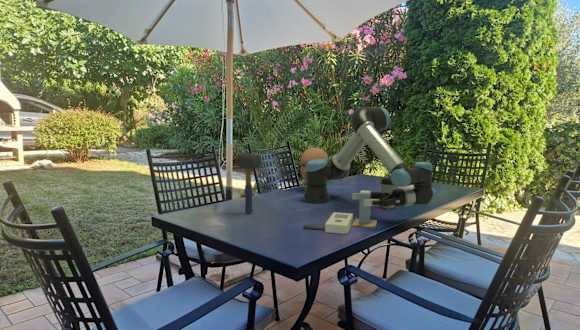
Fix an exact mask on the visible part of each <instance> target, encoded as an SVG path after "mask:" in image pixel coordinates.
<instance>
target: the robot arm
mask: <svg viewBox="0 0 580 330" xmlns="http://www.w3.org/2000/svg"><path fill="white" fill-rule="evenodd" d="M349 118H350V120H349V122H350V126H351V129H352V130H353V133H352V135H351V136H350V137H349V138H348V140H347V141H346V142H345V144H344V145H343V146H342V148H340V151H339V152H338V153H337V154H334V155H333V156H331V158H330V159H328V161H327V160H326V159H314V160H310V161H308V162H307V166H306V183H305V184H306V186H305V190H304V193H303V198H302V199H303V202H305V203H309V204H324V203H329V202H330V201H331V199H330V198H331V197H330V193H329V191H328V188H327V187H328V182H331V181H340V180H341V181H342V180H343V179H346V178H347V177H348V176H349V174H350V171H351V170H350V169H351V163H352V161H353V160H354V159H355V158H356V156H357V155H358V154H359V153H360V152H361V150H362V149H363V148H364V146H365V145H367V146H368V147H369V148H370V150H371V151H372V152H373V153H374V155H375V157H377V159H378V160H379V161H380V162H381V163H382V165H383V166H384V167H385V168H386V170H388V173H390V178H391V182H392V183H393V184H394V185H395V186H397V188H396V189H395V190H393V192H392V194H390V193H387V192H380V191H379V192H378V191H376V192H375V191H371V199H370V200H364V206H371V207H379V206H380V207H382V208H383V207H387V206H391V205H395V207H406V206H407V207H410V206H423V205H425V206H427V205H433V204H435V203H436V202H437V199H438V194H437V190H436V189H435V188H434V187H432V185H433V184H432V182H433V164H432V162H428V161H417V162H415V163H414V167H408V165H407V163H405V162H404V161H403V160H402V158H401V157H400V156H399V155H398V153H397V152H396V151H395V150H394V149H393V148H392V146H391V145H390V144H389V143H388V142H387V141H386V139H385V138H384V137H383V136H382V135H381V134H380V131H384V130H386V129H389V127H390V124H391V115H390V112H389V111H388V110H387V109H386V108H385V107H380V106H377V107H376V106H375V107H374V106H373V107H371V106H370V107H369V106H368V107H367V106H361V107H358V108H356V109H355V110H354V111H353V112H352V113H351V115H350V117H349ZM409 185H414V188H413V189H400V188H398V187H406V186H409ZM351 198H352V199H351V200H353V201H354V200H360V192H357V193H355V192H353V193H352V197H351Z"/></svg>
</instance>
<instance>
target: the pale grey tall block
mask: <svg viewBox="0 0 580 330" xmlns="http://www.w3.org/2000/svg"><path fill="white" fill-rule="evenodd" d="M371 192H372V191H371V190H364V189H363V190H360V192H359V193H360V199H359V209H358V210H359V211H358V212H359V216H358V219H359V223H360V224H370V220H371V210H372V209H371V207H372V206H364V200H370V199H371Z"/></svg>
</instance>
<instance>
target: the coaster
mask: <svg viewBox="0 0 580 330" xmlns="http://www.w3.org/2000/svg"><path fill="white" fill-rule="evenodd" d="M377 223H378V220H377V219H376V220H375V219H370V224H360V223H359V218H353V222H352V225H351V227H362V228H373V229H376V226H377Z"/></svg>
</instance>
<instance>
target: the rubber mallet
mask: <svg viewBox="0 0 580 330" xmlns="http://www.w3.org/2000/svg"><path fill="white" fill-rule="evenodd" d="M234 164H235V165H236V167H238V168H241V169H245V185H244V200H245V207H244V212H245V214H247V215H248V214H252V213H253V211H254V210H253V209H254V208H253V186H252V175H251V174H252V173H251V172H252V169H254V170H257V169H258V168H260V166H261V165H262V158H261V156H260V155H259V154H256V153H255V154H254V153H248V152H247V153H245V152H241V153H238V154H236V156H235V157H234Z"/></svg>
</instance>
